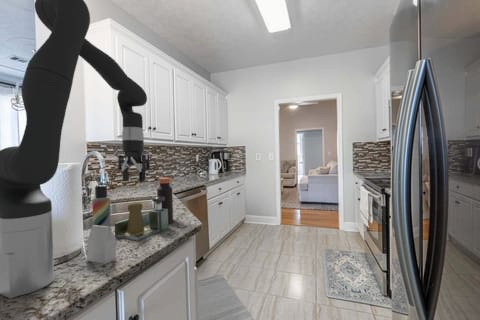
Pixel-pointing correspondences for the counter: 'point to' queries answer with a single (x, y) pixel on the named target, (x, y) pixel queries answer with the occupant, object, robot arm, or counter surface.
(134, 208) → the cork
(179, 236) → the counter surface
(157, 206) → the ram
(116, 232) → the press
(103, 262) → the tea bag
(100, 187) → the lotion bottle
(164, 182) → the vinegar
